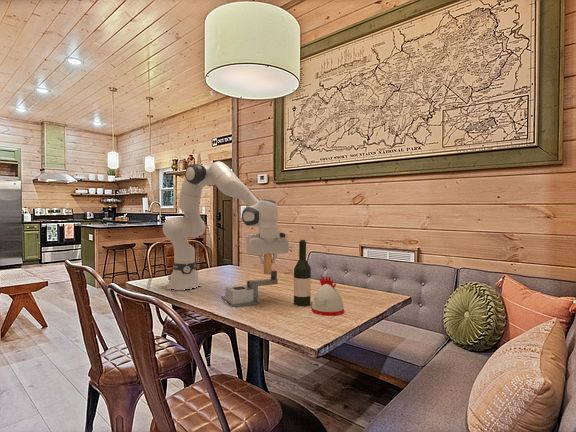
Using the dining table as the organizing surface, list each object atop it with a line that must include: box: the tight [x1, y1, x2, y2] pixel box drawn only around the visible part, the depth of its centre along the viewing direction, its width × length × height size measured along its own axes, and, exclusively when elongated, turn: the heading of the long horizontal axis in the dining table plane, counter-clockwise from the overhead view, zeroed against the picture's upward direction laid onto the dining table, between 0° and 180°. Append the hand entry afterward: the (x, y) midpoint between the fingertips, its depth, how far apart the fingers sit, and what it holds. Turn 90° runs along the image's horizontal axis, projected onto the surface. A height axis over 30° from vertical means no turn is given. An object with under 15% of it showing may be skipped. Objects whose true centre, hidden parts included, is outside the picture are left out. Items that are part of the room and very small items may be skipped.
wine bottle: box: [293, 239, 312, 307], centre depth 160 cm, size 8×8×30 cm
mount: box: [220, 279, 261, 308], centre depth 164 cm, size 18×13×10 cm
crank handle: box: [248, 269, 279, 287], centre depth 166 cm, size 3×14×6 cm, turn 118°
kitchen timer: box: [311, 276, 345, 317], centre depth 149 cm, size 14×14×15 cm
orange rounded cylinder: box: [263, 253, 273, 275], centre depth 160 cm, size 4×4×10 cm
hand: (267, 263), depth 160 cm, fingers closed on orange rounded cylinder, 4 cm apart
